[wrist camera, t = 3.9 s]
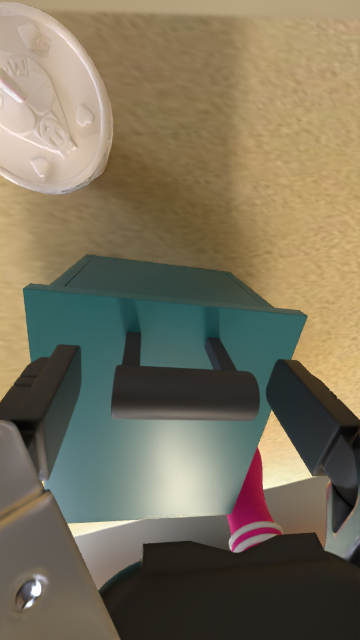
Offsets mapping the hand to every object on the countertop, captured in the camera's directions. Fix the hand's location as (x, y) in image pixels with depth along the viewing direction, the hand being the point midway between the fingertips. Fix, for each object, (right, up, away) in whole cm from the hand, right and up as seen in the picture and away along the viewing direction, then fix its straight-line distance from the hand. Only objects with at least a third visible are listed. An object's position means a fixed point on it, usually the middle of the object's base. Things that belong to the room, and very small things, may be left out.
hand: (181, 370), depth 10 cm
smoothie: (-7, +15, +9) cm, 19 cm away
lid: (-1, -5, +6) cm, 7 cm away
